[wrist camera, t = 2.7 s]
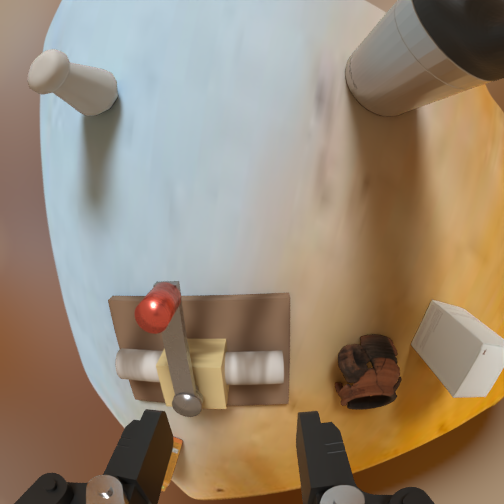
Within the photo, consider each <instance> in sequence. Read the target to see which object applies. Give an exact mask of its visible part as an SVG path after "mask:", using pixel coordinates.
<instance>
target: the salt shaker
mask: <svg viewBox="0 0 504 504" xmlns="http://www.w3.org/2000/svg"><path fill="white" fill-rule="evenodd" d="M27 82H28V85H29V87H30V89H32V90H33V91H35V92H37V93H38V94H48V93H52V92H53V93H54V94H55V95H57V96H58V97H60V98H61V99H62V100H64V101H65V102H67V103H68V104H69V105H71V106H72V107H73V108H75V109H76V110H77V111H78V112H80V113H82V114H83V115H85V116H93V115H98V114H100V113H102V112H104V111H106V110H108V109H110V108H111V107H112V105H113V103H114V102H115V100H116V99H117V97H118V93H117V81H116V79H115V77H114V75H113V74H112V73H111V72H108V71H106V70H104V69H100V68H95V67H90V66H85V65H80V64H75V63H70V62H69V59H68V57H67V55H66V54H65V53H63V52H61V51H58V50H55V49H51V50H47V51H45V52H43V53H42V54H41V55H39V56H38V57H37V58H36V59H35V61H34V62H33V63H32V65H31V67H30V70H29V72H28V80H27Z"/></svg>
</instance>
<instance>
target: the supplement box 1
mask: <svg viewBox="0 0 504 504" xmlns="http://www.w3.org/2000/svg"><path fill="white" fill-rule="evenodd" d="M173 440H174V443H173V450H172V453H171V457H170V460H169V464H168V467H167V471H166V475H165V478H164V482H163V485H162V489H161V491H165V490H166V488H167V486H168V485H169V484H170V481H171V478H172V475H173V472H174V469H175V466H176V463H177V459H178V456H179V453H180V449H181V446H182V442H183V441H182V440H181V439H178V438H176V437H173Z"/></svg>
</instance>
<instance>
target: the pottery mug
mask: <svg viewBox="0 0 504 504" xmlns="http://www.w3.org/2000/svg"><path fill="white" fill-rule="evenodd" d="M360 339H361V346H360V345H357V344H353V345H346V346H344V347H343V348H342V349H341V350H340V352H339V354H338V365H339V368H340V370H341V372H342V373H343V376H344V377H345V379H346V381H347V382H349V383H354V384H353V385H352V386H350V385H349V384H346V385H345V386H344V387H343V385H342V383H338V382H336V383H335V388H336V391H337V393H338V395H339V396H340V397H341V399H342V400H341V405H345V406H346V405H347V408H349V409H371V408H377V407H381V406H384V405H387V404H389V403H391V402H393V401H394V400H395V399H396V397H397V395H396V393H395V391H396V390H397V388H398V387H399V385H400V382H401V377H399V375H400V368H399V367H398V365H397V358H396V357H395V356H397V350H396V348H395V347H394V345H393V342H392V340H391V339H389V338H387V337H385V336H382V335H376V334H374V335H373V334H372V335H365V336H361V337H360ZM369 361H370V362H371V363H372V366H373V368H368V367H367V365H366V364H367V363H368V362H369ZM398 378H399V379H398ZM397 380H398V381H397ZM396 382H397V383H396ZM372 395H373V396H372Z"/></svg>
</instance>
